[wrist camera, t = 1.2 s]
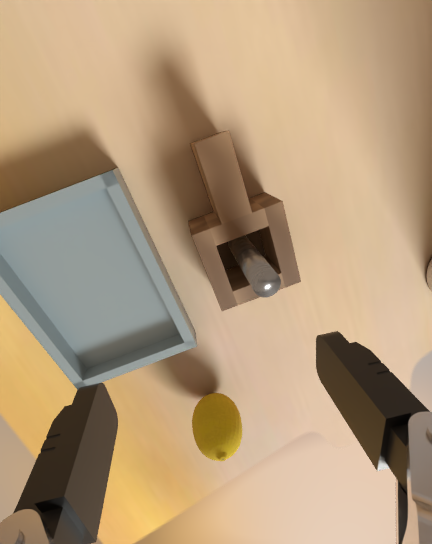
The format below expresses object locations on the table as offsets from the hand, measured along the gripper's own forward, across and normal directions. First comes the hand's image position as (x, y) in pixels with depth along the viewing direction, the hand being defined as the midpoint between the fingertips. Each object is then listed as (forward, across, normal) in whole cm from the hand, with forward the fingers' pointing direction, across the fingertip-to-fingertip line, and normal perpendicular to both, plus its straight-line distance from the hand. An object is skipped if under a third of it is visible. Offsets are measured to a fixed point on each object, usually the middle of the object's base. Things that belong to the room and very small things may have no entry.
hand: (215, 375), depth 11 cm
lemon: (+18, +1, +21) cm, 28 cm away
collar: (+18, -4, -1) cm, 18 cm away
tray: (+18, +9, +3) cm, 20 cm away
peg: (+18, -5, +2) cm, 18 cm away
